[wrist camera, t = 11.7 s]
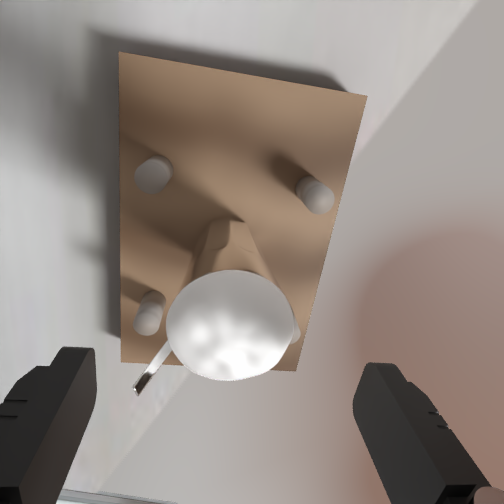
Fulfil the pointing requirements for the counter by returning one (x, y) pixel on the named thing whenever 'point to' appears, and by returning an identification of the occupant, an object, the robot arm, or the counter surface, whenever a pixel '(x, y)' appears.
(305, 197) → the peg plinth
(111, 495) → the hard drive
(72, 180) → the counter surface
